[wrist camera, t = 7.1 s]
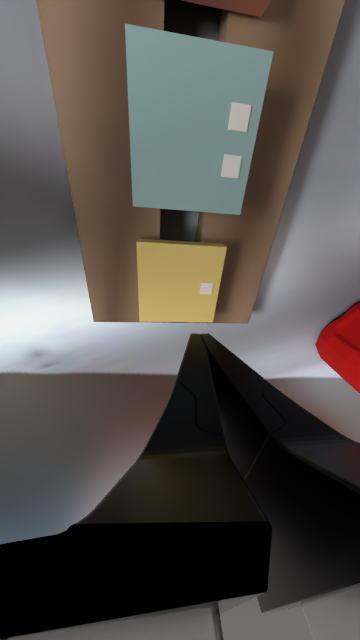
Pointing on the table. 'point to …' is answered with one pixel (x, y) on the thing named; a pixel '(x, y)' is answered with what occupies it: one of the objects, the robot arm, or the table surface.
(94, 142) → the button board
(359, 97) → the table surface
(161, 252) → the tile mustard
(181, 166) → the tile teal
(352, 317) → the red plastic bottle
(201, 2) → the tile brick
